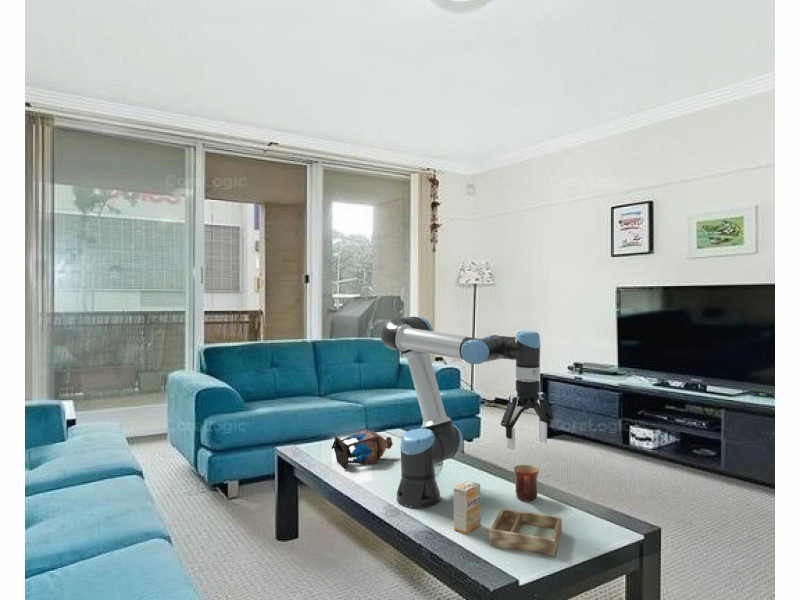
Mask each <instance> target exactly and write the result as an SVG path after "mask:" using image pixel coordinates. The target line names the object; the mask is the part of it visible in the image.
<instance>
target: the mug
mask: <svg viewBox="0 0 800 600" xmlns="http://www.w3.org/2000/svg"><path fill="white" fill-rule="evenodd" d="M513 472H514V476H515V497H516V498H517V499H518V500H520V501H522V502H533V501H535V500H536V499H537V498H538V493H539V492H538V477H539V473H540V469H539V467H537V466H535V465H532V464H531V465H530V464H520V465H519V464H518V465H515V466H514V467H513Z"/></svg>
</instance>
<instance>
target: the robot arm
mask: <svg viewBox="0 0 800 600" xmlns="http://www.w3.org/2000/svg"><path fill="white" fill-rule="evenodd" d="M379 333H380V340H381V342H382V344H383V345H384V346H385V347H386V348H388V349H389V350H392V351H393V350H394V351H400V352H401V356H402V357H404V358H406V359H407V364H408V366H409V371H410V375H411V378H412V379H411V380H412V382H413V386H414V390H415V393H416V397H417V402H418V405H419V408H420V413H421V416H422V421H423V422H422V425H421V426H420V428H417V429H416V428H415V429H409V430H408V431H406V432H404V433H403V434H402V436H401V439H400V447H399V449H400V467H401V468H400V469H401V470H400V471H401V473H400V474H401V478H400V482H399V484H398V488H397V491H396V501H397V503H398V502H399V503H398V504H400V503H401V504H403V505H402V506H404V505H407V506H412V507H411V508H413V507H424V508H429V506H430V507H432V506H435V505H438V503H440V502H441V492H440V488H439V485H438V483H437V480H436V477H435V475H436V474H435V471H436V468H435V466H436V465H437V464H439V463H442V462H444V461H447V460H450V459H452V458H454V457H455V456H457V455H458V454H459V453H460V452H461V450H462V447H463V444H464V443H463V442H464V438H463V434H462V431H461V430H460V428H458V426H456V425H455V424H453V421H452V418H451V417H448V415H446V411H445V407H444V404H443V399H442V397H441V392H440V389H439V385H438V381H437V378H436V377H437V376H436V373H435V370H434V367H433V363H432V359H431V355H430V354H432V355H435V356H436V355H437V356H443V357H446V358H447V357H448V358H454V359H458V360H463V361H464V362H466V363H467V364H470V365H481V364H483V363H488V362H492V361H496V360H503V359H504V360H512V361H515V378H516V380H515V390H516V393H517V394H516V396H512V395H509V396H508V404H507V405H506V408H505V411H504V413H503V416H502V419H501V421H500V426H501V427H504V428H505V437H506V438H507V441H506V442H507V444H506V447H507V448H509V449H510V450H516V428H514V426H515V425H516V423H517V421H518V420H519V418H520V416H521V414H522V413H523V412H525V410H529V409H533V411H535V413H536V414H537V416H538V418H539V419H540V420H541V421H539V423H538V425H539V427H538V428H539V429H538V430H539V433H538V441H539V442H540V443H544V444H547V443H548V440H547V439H548V431H549V424H550V423H552V422H551V421H552V420H553V419H554V416H553V413H552V411H551V408H550V406H549V403H548V400H547V394H546V392H541V390H540V389H541V381H540V378H541V377H540V376H541V367H540V366H541V359H540V358H541V338H540V334H539V332H537V331H532V330H531V331H530V330H529V331H528V330H527V331H526V330H524V331H523V330H522V331H521V330H520V331H517V332H516V334H515V336H508V335H507V336H506V335H498V334H490V335H486V336H485V337H484V338H483V337H482V338H479V337H469V336H463V335H458V334H452V333H451V334H450V333H444V332H439V331H434V329H433V326H432V324H431V323H430V321H428V320H427V319H425V318H424V317H422V316H421V317H420V316H408V317H399V318H398V317H397V318H391V319H388V320H387V321H386V322H385V323H384V324H383V325H382V327H381V329H380V332H379ZM401 504H400V505H401ZM407 506H406V507H407Z"/></svg>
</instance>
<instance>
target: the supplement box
mask: <svg viewBox="0 0 800 600" xmlns="http://www.w3.org/2000/svg"><path fill="white" fill-rule="evenodd" d="M480 525H481V483H479V482H475V481H472V480H471V481H470V480H467V481H466V482H463V483H461V484H458V485H456V486H455V487H453V530H454V531H456V530H457V531H456V532H460V533H463V534H465V535H466V534H468V533H470V532H471V531H472V530H474V529H476V528H477V527H479V526H480Z"/></svg>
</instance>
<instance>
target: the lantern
mask: <svg viewBox="0 0 800 600" xmlns="http://www.w3.org/2000/svg"><path fill="white" fill-rule="evenodd" d="M385 438H386V439H385ZM353 439H356V440H357V441H356V442H352V443H350V444H347V443H345V441H346V440H347V441H349V440H350V441H351V440H353ZM393 445H394V443H393V440H392V436H384V435H383V436H382V435H380V434H378V433H377V432H376V431H371V432H370V430H368V429H367V428H365V429H363V430H360V431H358V432H356V433H354V434H352V435H349V436H347V437H345V438H343V439H341V438H340V437H338V436H336V435H335V436H334V440H333V443H332V446H331V450H334V454H335V459H336V462H337V463H338V464H340V466H341V468H343V469H345V470H346V469H347V466H348V465H349V464H360V465H363V464H364V465H366V464H367V465H371V464H372V465H376V464H378V459H380V458H382V456H383V455H384V454H385V452H386V450H387V449H388V450H390V449H391V448H392V446H393ZM350 447H354V449H353V450H352V451H351V448H350ZM349 459H352V460H349Z"/></svg>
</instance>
